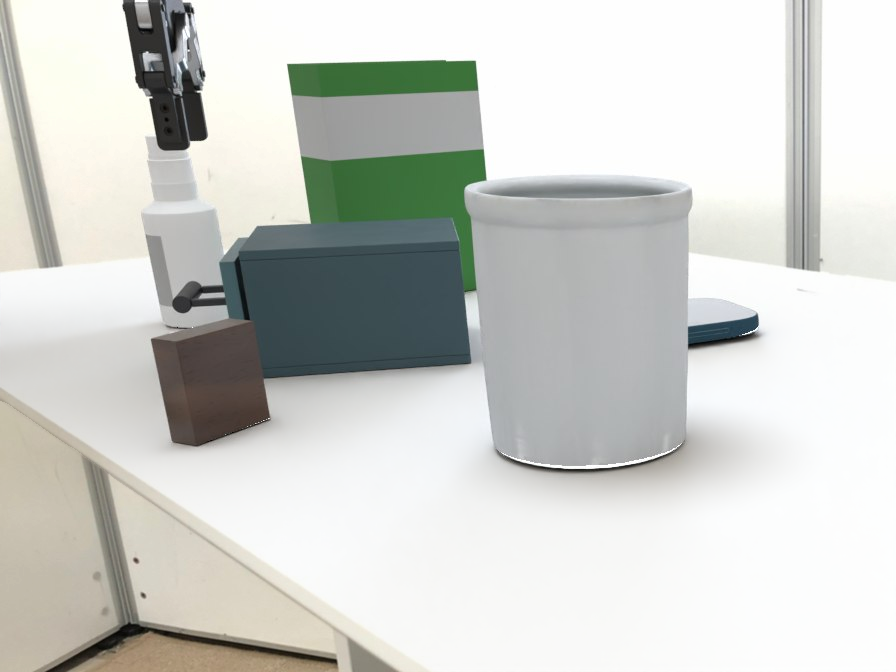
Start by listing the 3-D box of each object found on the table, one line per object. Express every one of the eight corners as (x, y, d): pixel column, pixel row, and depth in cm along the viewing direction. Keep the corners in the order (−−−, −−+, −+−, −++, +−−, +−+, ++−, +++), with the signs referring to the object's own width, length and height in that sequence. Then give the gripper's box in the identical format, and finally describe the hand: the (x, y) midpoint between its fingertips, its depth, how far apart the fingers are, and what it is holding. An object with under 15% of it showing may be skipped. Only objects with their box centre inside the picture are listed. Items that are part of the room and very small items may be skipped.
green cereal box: (463, 277, 142) (441, 60, 133) (496, 286, 137) (475, 60, 128) (322, 298, 132) (286, 63, 122) (351, 308, 127) (317, 64, 117)
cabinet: (260, 378, 101) (238, 251, 97) (275, 339, 114) (256, 225, 110) (471, 363, 105) (459, 240, 101) (463, 327, 118) (451, 217, 114)
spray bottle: (206, 311, 126) (172, 131, 119) (250, 318, 123) (218, 133, 116) (148, 324, 121) (109, 136, 113) (193, 331, 117) (155, 138, 110)
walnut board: (171, 441, 85) (149, 338, 82) (246, 415, 91) (228, 317, 88) (196, 446, 84) (175, 341, 82) (271, 419, 90) (253, 320, 87)
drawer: (177, 371, 100) (155, 265, 96) (200, 336, 112) (182, 240, 108) (437, 353, 105) (426, 251, 101) (433, 321, 117) (423, 229, 113)
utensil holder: (648, 400, 94) (639, 167, 87) (733, 453, 82) (730, 188, 75) (463, 427, 88) (438, 179, 81) (526, 489, 76) (502, 204, 69)
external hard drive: (713, 314, 123) (713, 295, 122) (771, 336, 113) (771, 315, 113) (492, 343, 112) (490, 322, 111) (537, 370, 103) (535, 347, 102)
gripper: (111, -79, 94) (151, 139, 100) (62, -97, 81) (112, 154, 87) (213, -78, 95) (247, 137, 102) (181, -95, 82) (222, 152, 89)
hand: (184, 145), depth 94 cm, fingers open, 8 cm apart
